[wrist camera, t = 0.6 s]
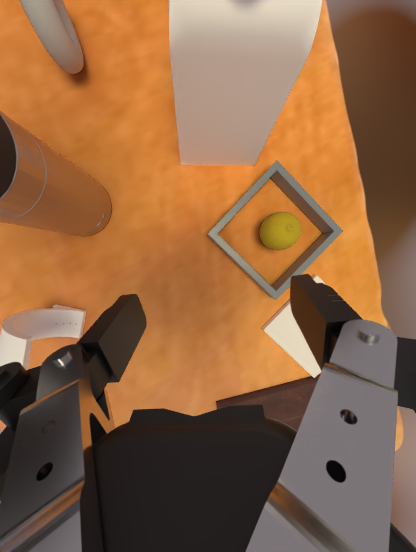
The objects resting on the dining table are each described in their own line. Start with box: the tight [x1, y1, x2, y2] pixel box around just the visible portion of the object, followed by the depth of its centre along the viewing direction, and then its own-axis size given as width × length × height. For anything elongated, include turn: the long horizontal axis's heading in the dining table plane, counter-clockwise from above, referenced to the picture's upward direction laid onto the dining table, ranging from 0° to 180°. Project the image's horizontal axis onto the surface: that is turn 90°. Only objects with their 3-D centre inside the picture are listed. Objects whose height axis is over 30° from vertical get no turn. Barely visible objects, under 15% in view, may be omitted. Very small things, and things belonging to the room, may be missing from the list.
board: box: [262, 275, 326, 378], centre depth 36 cm, size 13×13×1 cm
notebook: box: [216, 374, 320, 431], centre depth 37 cm, size 15×20×2 cm
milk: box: [169, 0, 322, 166], centre depth 20 cm, size 12×12×26 cm
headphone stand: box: [0, 304, 87, 370], centre depth 28 cm, size 5×6×12 cm
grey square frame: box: [207, 161, 343, 300], centre depth 33 cm, size 15×15×3 cm
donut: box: [20, 0, 84, 74], centre depth 26 cm, size 10×4×10 cm, turn 15°
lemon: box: [259, 212, 301, 250], centre depth 30 cm, size 6×6×8 cm
